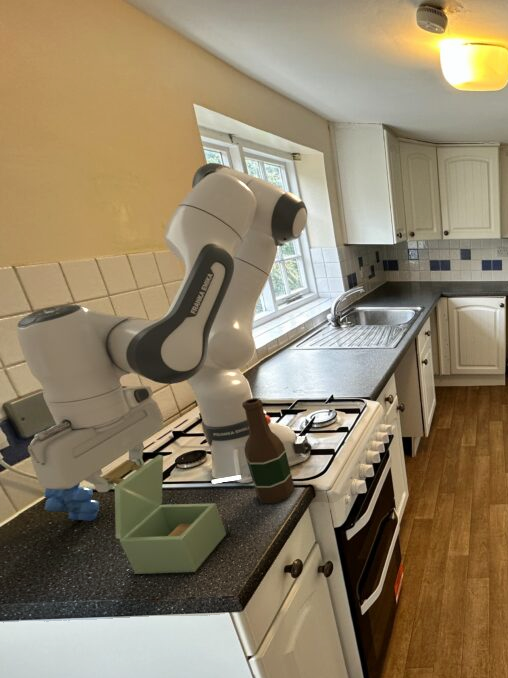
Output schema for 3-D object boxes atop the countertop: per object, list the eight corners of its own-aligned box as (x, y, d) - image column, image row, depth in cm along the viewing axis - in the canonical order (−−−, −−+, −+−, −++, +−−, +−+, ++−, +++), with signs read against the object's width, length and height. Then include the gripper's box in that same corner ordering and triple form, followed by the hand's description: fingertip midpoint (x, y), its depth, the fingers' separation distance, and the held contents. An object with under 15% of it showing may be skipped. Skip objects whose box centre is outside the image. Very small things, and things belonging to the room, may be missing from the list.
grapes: (36, 528, 85) (9, 480, 81) (75, 507, 91) (52, 461, 87) (78, 537, 83) (53, 488, 78) (115, 515, 89) (93, 468, 84)
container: (226, 534, 84) (215, 503, 81) (194, 572, 75) (181, 539, 72) (173, 535, 83) (160, 504, 80) (134, 574, 74) (119, 540, 71)
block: (209, 540, 81) (203, 522, 79) (195, 557, 77) (187, 539, 75) (187, 541, 81) (180, 523, 79) (170, 558, 77) (163, 540, 75)
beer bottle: (279, 480, 100) (255, 391, 91) (302, 488, 98) (280, 396, 88) (249, 499, 94) (221, 405, 84) (274, 508, 91) (247, 411, 82)
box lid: (163, 455, 76) (135, 449, 75) (119, 487, 67) (87, 480, 66) (161, 503, 80) (135, 497, 79) (120, 539, 71) (90, 533, 71)
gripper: (47, 439, 57) (87, 518, 63) (158, 383, 76) (181, 447, 82) (0, 440, 57) (44, 519, 62) (123, 384, 76) (148, 448, 81)
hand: (122, 478), depth 72 cm, fingers closed on box lid, 5 cm apart
